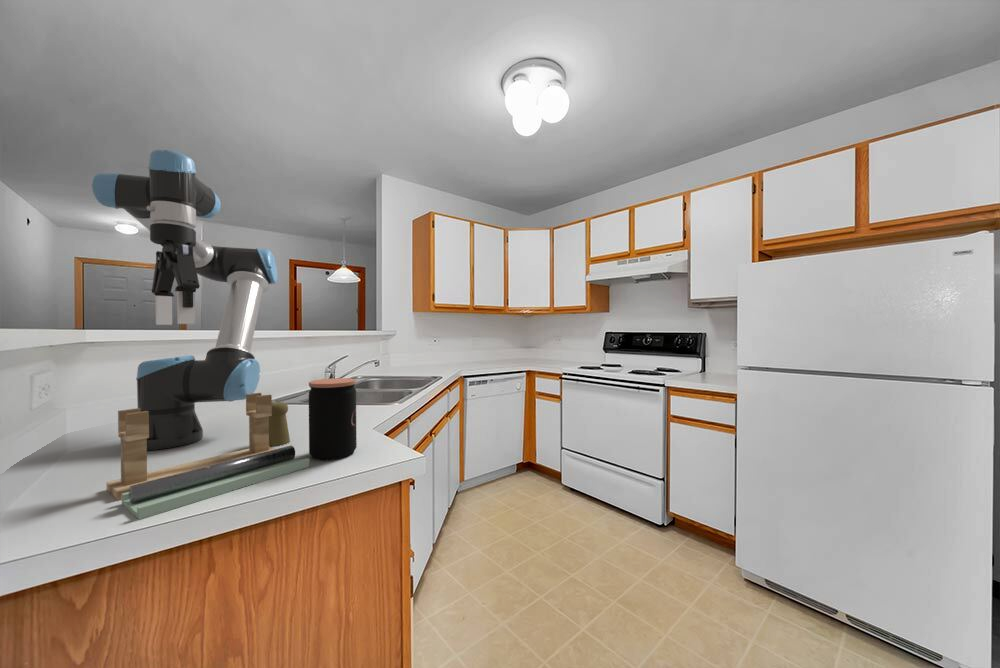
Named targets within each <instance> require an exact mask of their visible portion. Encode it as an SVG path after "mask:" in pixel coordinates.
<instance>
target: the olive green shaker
mask: <svg viewBox="0 0 1000 668" xmlns="http://www.w3.org/2000/svg"><path fill="white" fill-rule="evenodd" d="M288 411H289V406H288V404H287V402H284V401H275V402H272V416H269V446H274V447H281V446H284V444H285V445H288V444H290V443H289V442H291V438H290V433H289V425H288V420H287V412H288ZM287 443H288V444H287ZM280 445H281V446H280Z"/></svg>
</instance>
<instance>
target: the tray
mask: <svg viewBox="0 0 1000 668" xmlns="http://www.w3.org/2000/svg"><path fill="white" fill-rule="evenodd" d="M307 468H310V458H308V457H305V458H302V459H299V458H296V457H294V458H293V459H290V460H286V461H283V462H279V463H275V464H272V465H268V466H265V467H261V468H258V469H254V470H251V471H247V472H243V473H240V474H236V475H233V476H229V477H226V478H222V479H219V480H215V481H211V482H208V483H204V484H201V485H197V486H194V487H190V488H187V489H183V490H179V491H176V492H172V493H169V494H165V495H162V496H158V497H155V498H151V499H148V500H144V501H140V502H137V503H133V504H132V503H131V502H130V499H129V492H127V493H123V494H122V500H121V505H122V506H123V507H124V508H126V509H127V510H128V511H129V512H130V513H131V514H132V515H133V516H134V517H136V519H138V520H139V521H140V520H143V519H146V518H149V517H153V516H155V515H158V514H162V513H164V512H168V511H172V510H175V509H177V508H181V507H184V506H189V505H191V504H194V503H196V502H197V503H198V502H201V501H203V500H207V499H209V498H213V497H216V496H219V495H222V494H226V493H229V492H233V491H236V490H238V488H239V489H242V488H245V486H246V487H249V486H251V484H252V485H254V484H255V485H256V484H257V483H261V482H264V481H268V480H271V479H274V478H277V477H281V476H284V475H288V474H290V473H293V472H297V471H300V470H303V469H307ZM248 485H249V486H248ZM241 487H242V488H241ZM232 490H233V491H232Z"/></svg>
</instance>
